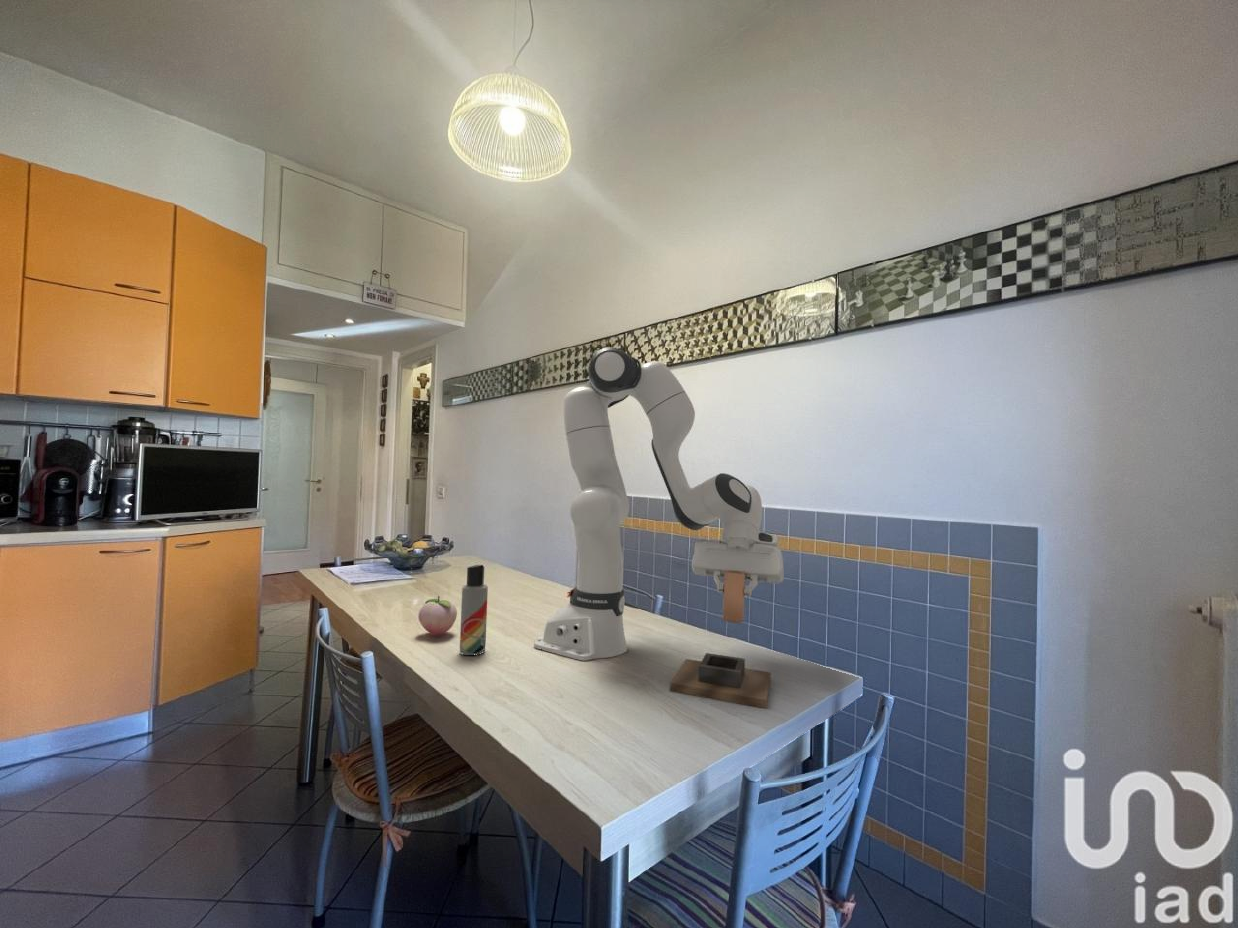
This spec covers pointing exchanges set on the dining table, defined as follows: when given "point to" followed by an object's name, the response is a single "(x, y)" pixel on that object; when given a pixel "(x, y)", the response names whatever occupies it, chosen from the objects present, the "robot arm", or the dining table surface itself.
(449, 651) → the dining table surface
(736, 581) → the peg
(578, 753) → the dining table surface
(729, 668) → the collar stand
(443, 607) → the decorative fruit
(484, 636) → the lotion bottle
